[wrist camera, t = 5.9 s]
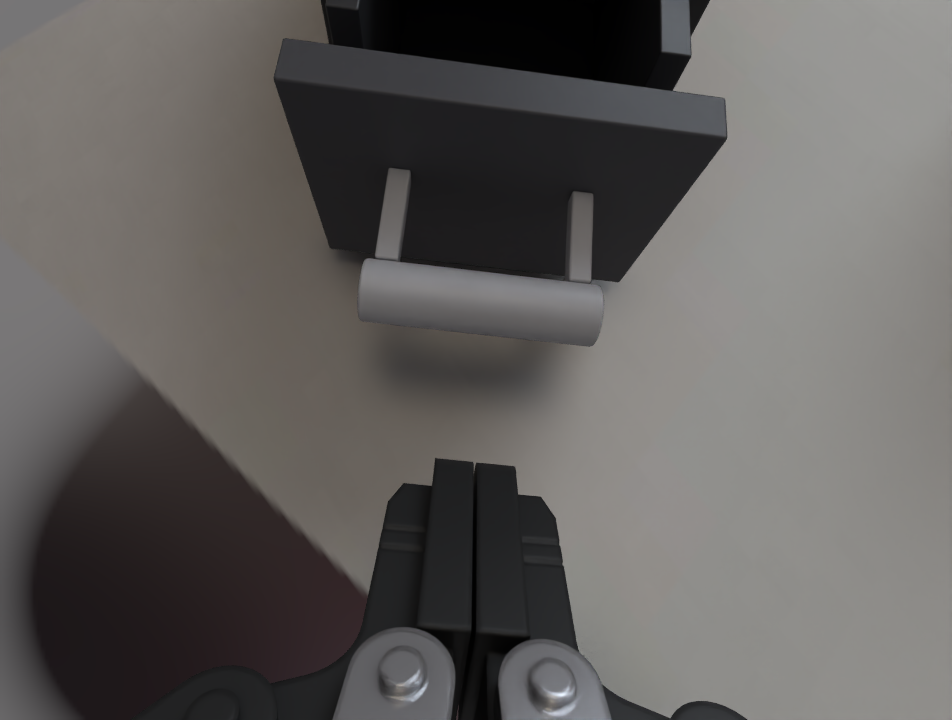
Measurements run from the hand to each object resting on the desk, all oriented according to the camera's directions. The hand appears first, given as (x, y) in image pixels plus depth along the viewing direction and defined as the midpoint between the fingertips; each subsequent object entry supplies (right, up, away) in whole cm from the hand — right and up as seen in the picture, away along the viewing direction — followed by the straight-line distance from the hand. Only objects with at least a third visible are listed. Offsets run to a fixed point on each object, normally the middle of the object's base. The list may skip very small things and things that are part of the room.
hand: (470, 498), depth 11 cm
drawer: (+1, +10, +11) cm, 15 cm away
